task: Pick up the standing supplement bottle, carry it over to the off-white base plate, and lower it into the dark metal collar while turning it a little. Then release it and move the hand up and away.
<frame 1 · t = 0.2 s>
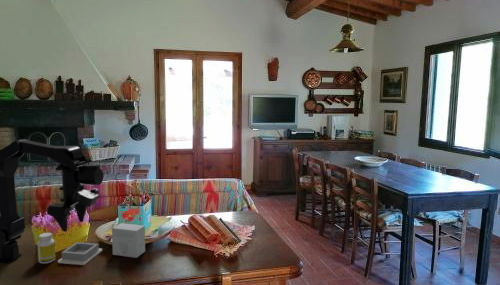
hand: (73, 226, 126), 14 cm above the table, tool pointing down, fingers open, 9 cm apart
supplement bottle: (47, 261, 131), on the table
skincare box: (129, 253, 138), on the table
collar plate: (81, 256, 134), on the table
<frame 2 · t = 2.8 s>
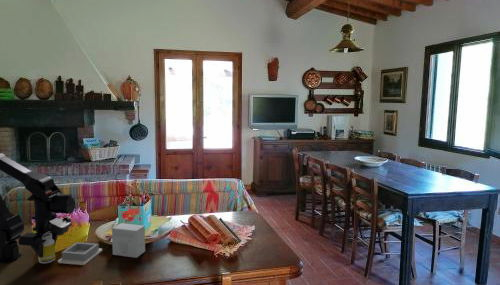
hand: (46, 253, 130), 3 cm above the table, tool pointing down, fingers closed on supplement bottle, 5 cm apart
supplement bottle: (47, 261, 131), on the table, touching gripper
everything else where it was.
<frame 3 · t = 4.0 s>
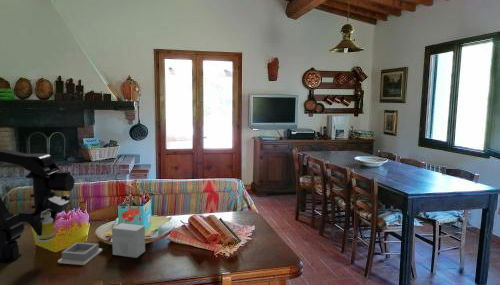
hand: (45, 232, 129), 11 cm above the table, tool pointing down, fingers closed on supplement bottle, 5 cm apart
supplement bottle: (46, 239, 129), point 8 cm above the table, touching gripper
everything else where it was.
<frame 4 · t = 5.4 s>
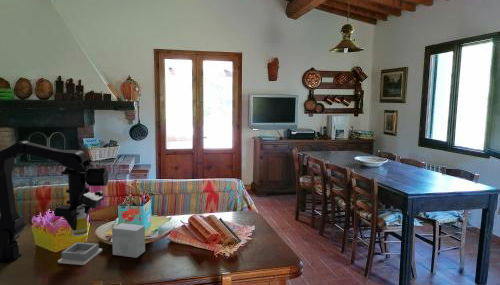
hand: (79, 227, 132), 11 cm above the table, tool pointing down, fingers closed on supplement bottle, 5 cm apart
supplement bottle: (79, 234, 133), point 9 cm above the table, touching gripper
everything else where it was.
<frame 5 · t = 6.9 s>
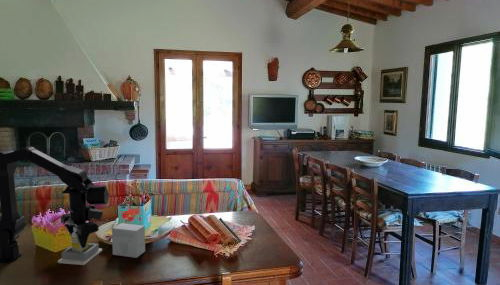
hand: (80, 245, 133), 4 cm above the table, tool pointing down, fingers closed on supplement bottle, 5 cm apart
supplement bottle: (80, 252, 134), point 2 cm above the table, touching gripper
everything else where it was.
when the fingers open (4 cm above the table, at t = 8.0 s): supplement bottle stays where it is, resting on collar plate.
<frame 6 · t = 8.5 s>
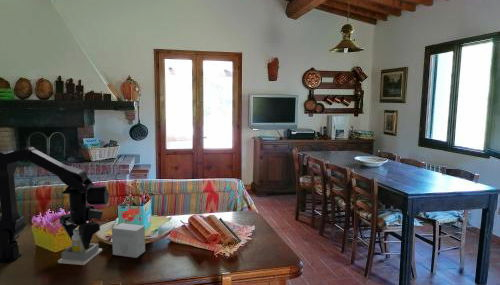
hand: (80, 245, 134), 4 cm above the table, tool pointing down, fingers open, 9 cm apart
supplement bottle: (80, 254, 134), point 1 cm above the table, touching collar plate
everything else where it was.
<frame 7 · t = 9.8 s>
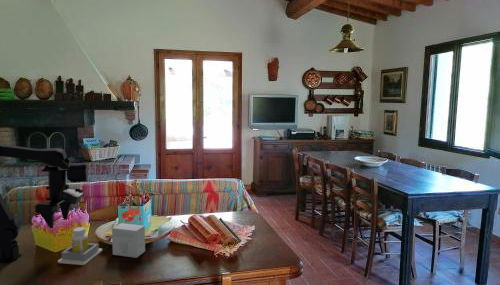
hand: (58, 223, 135), 12 cm above the table, tool pointing down, fingers open, 9 cm apart
nothing on the table moved.
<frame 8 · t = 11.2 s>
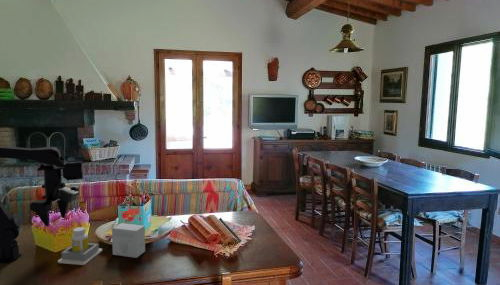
hand: (55, 221, 136), 12 cm above the table, tool pointing down, fingers open, 9 cm apart
nothing on the table moved.
at the end: supplement bottle 0.1 cm off-centre on the collar plate, point 0.6 cm above the collar plate's base; supplement bottle tilted 0°; the gripper is holding nothing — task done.
